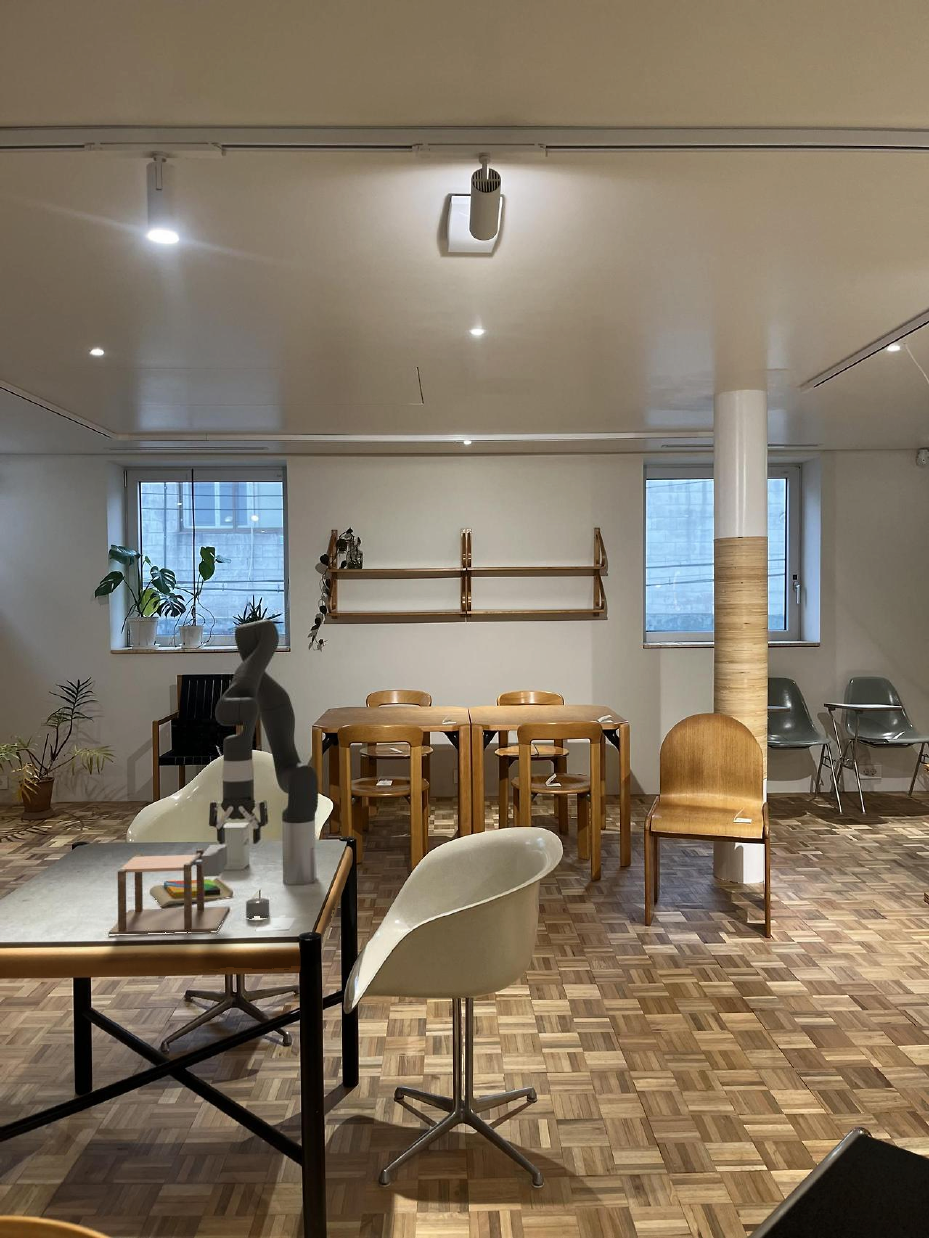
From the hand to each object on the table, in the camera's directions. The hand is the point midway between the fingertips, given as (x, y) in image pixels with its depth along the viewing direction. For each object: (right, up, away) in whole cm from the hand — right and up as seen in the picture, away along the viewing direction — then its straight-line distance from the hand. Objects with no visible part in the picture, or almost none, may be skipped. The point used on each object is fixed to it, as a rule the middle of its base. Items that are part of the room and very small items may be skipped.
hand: (238, 843), depth 229 cm
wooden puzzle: (-18, -20, +21) cm, 34 cm away
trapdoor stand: (-16, -19, -3) cm, 25 cm away
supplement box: (-13, -19, +49) cm, 54 cm away
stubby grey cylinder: (+5, -19, 0) cm, 19 cm away
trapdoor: (-15, -6, -3) cm, 16 cm away
